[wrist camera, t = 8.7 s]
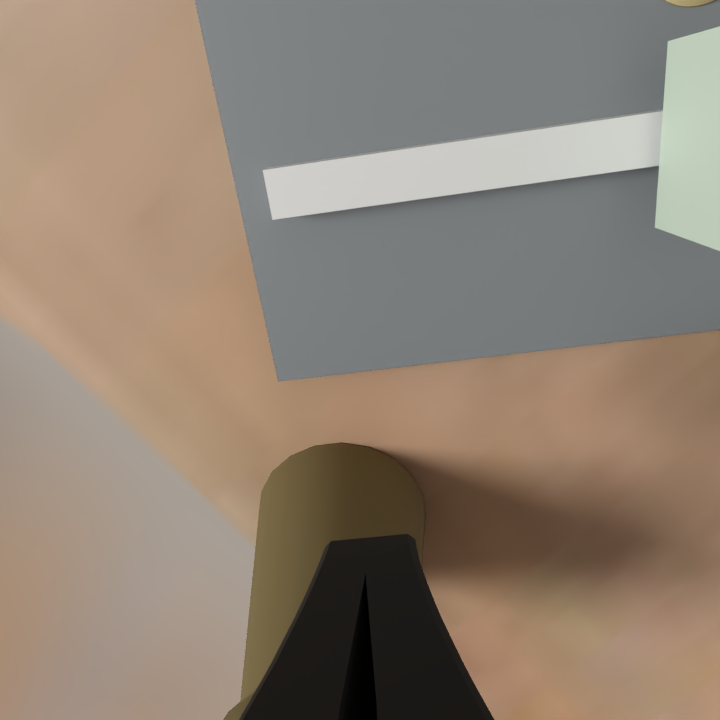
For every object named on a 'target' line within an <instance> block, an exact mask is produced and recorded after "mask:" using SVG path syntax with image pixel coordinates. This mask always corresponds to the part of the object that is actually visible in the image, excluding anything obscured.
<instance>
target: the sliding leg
mask: <svg viewBox="0 0 720 720" xmlns="http://www.w3.org/2000/svg"><path fill="white" fill-rule="evenodd" d="M655 228H658V229H660V230H663V231H666V232H669V233H671V234H674V235H677V236H679V237H682V238H685V239H688V240H690V241H693V242H696V243H699V244H701V245H704V246H707V247H710V248H712V249H715V250H718V251H720V26H719V27H716V28H712V29H709V30H705V31H702V32H698V33H695V34H691V35H688V36H684V37H681V38H677V39H674V40H670V41H668V46H667V60H666V74H665V88H664V103H663V117H662V131H661V146H660V160H659V174H658V188H657V203H656V217H655Z"/></svg>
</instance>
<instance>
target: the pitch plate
mask: <svg viewBox="0 0 720 720" xmlns="http://www.w3.org/2000/svg"><path fill="white" fill-rule="evenodd" d="M195 4H196V8H197V13H198V17H199V22H200V27H201V31H202V36H203V40H204V45H205V49H206V54H207V59H208V63H209V68H210V72H211V77H212V81H213V86H214V91H215V95H216V100H217V104H218V109H219V113H220V118H221V123H222V127H223V132H224V136H225V141H226V145H227V150H228V155H229V159H230V164H231V168H232V173H233V177H234V182H235V187H236V191H237V196H238V200H239V205H240V209H241V214H242V219H243V223H244V228H245V232H246V237H247V241H248V246H249V251H250V255H251V260H252V264H253V269H254V273H255V278H256V283H257V287H258V292H259V296H260V301H261V305H262V310H263V315H264V319H265V324H266V328H267V333H268V337H269V342H270V347H271V351H272V356H273V360H274V365H275V369H276V374H277V379H278V381H287V380H295V379H304V378H312V377H321V376H329V375H338V374H346V373H355V372H364V371H372V370H381V369H389V368H398V367H406V366H415V365H423V364H432V363H440V362H449V361H457V360H466V359H474V358H483V357H491V356H500V355H509V354H517V353H526V352H534V351H543V350H551V349H560V348H568V347H577V346H585V345H594V344H602V343H611V342H619V341H628V340H636V339H645V338H654V337H662V336H671V335H679V334H688V333H696V332H705V331H713V330H720V251H718V250H715V249H712V248H710V247H707V246H704V245H701V244H699V243H696V242H693V241H690V240H688V239H685V238H682V237H679V236H677V235H674V234H671V233H669V232H666V231H663V230H660V229H658V228H655V217H656V203H657V188H658V174H659V160H660V146H661V131H662V117H663V103H664V88H665V74H666V60H667V46H668V41H670V40H674V39H677V38H681V37H684V36H688V35H691V34H695V33H698V32H702V31H705V30H709V29H712V28H716V27H719V26H720V0H195Z"/></svg>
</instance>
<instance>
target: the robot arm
mask: <svg viewBox="0 0 720 720" xmlns="http://www.w3.org/2000/svg"><path fill="white" fill-rule="evenodd" d="M239 720H494V718H493V717H492V715H491V713H490V711H489V710H488V708H487V706H486V704H485V702H484V701H483V699H482V697H481V695H480V693H479V692H478V690H477V688H476V686H475V684H474V683H473V681H472V679H471V677H470V675H469V673H468V671H467V669H466V667H465V665H464V663H463V662H462V660H461V657H460V655H459V653H458V651H457V649H456V647H455V645H454V643H453V641H452V639H451V637H450V635H449V633H448V631H447V628H446V626H445V624H444V622H443V620H442V618H441V616H440V613H439V611H438V609H437V606H436V604H435V602H434V599H433V597H432V594H431V592H430V589H429V586H428V584H427V581H426V578H425V576H424V573H423V570H422V566H421V563H420V560H419V556H418V552H417V547H416V540H415V539H414V538H413V537H412V536H410V535H409V534H400V535H389V536H379V537H368V538H357V539H347V540H336V541H330V542H329V543H328V545H327V546H326V547H325V548H324V551H323V554H322V556H321V559H320V562H319V564H318V567H317V569H316V571H315V574H314V576H313V579H312V581H311V583H310V585H309V588H308V590H307V592H306V594H305V596H304V599H303V601H302V603H301V605H300V607H299V609H298V611H297V613H296V616H295V618H294V620H293V622H292V624H291V625H290V627H289V629H288V631H287V633H286V635H285V637H284V639H283V641H282V643H281V645H280V647H279V649H278V651H277V653H276V655H275V657H274V659H273V661H272V663H271V664H270V666H269V668H268V670H267V672H266V674H265V675H264V677H263V679H262V681H261V682H260V684H259V686H258V687H257V689H256V691H255V693H254V694H253V696H252V698H251V700H250V701H249V703H248V705H247V706H246V708H245V710H244V712H243V713H242V715H241V717H240V719H239Z"/></svg>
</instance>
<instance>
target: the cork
mask: <svg viewBox="0 0 720 720" xmlns="http://www.w3.org/2000/svg"><path fill="white" fill-rule="evenodd" d="M424 529H425V510H424V502H423V495H422V493H421V491H420V489H419V487H418V486H417V484H416V482H415V480H414V478H413V476H412V475H411V474H410V473H409V472H408V471H407V470H406V469H405V468H403V467H402V466H401V465H400V464H399V463H398V462H397V461H396V460H395V459H393V458H392V457H389V456H387V455H385V454H383V453H381V452H379V451H376V450H374V449H372V448H370V447H365V446H359V445H353V444H346V443H336V444H327V445H318V446H313V447H311V448H308V449H306V450H304V451H301V452H299V453H297V454H294V455H292V456H290V457H289V458H288V459H287V460H285V461H284V462H283V463H282V464H281V465H280V466H278V467H277V468H276V469H275V470H274V471H273V472H272V473H271V475H270V477H269V479H268V481H267V482H266V484H265V486H264V488H263V490H262V492H261V501H260V509H259V519H258V529H257V539H256V549H255V560H254V570H253V579H252V589H251V600H250V610H249V620H248V631H247V641H246V651H245V660H244V671H243V681H242V690H241V701H240V702H239V703H238V704H237V705H236V706H235V707H234V708H232V709H231V710H230V711H229V712H228V714H227V715H226V717H225V718H224V720H239V719H240V717H241V715H242V713H243V712H244V710H245V708H246V706H247V705H248V703H249V701H250V700H251V698H252V696H253V694H254V693H255V691H256V689H257V687H258V686H259V684H260V682H261V681H262V679H263V677H264V675H265V674H266V672H267V670H268V668H269V666H270V664H271V663H272V661H273V659H274V657H275V655H276V653H277V651H278V649H279V647H280V645H281V643H282V641H283V639H284V637H285V635H286V633H287V631H288V629H289V627H290V625H291V624H292V622H293V620H294V618H295V616H296V613H297V611H298V609H299V607H300V605H301V603H302V601H303V599H304V596H305V594H306V592H307V590H308V588H309V585H310V583H311V581H312V579H313V576H314V574H315V571H316V569H317V567H318V564H319V562H320V559H321V556H322V554H323V551H324V548H325V547H326V546H327V545H328V543H329V542H330V541H336V540H347V539H357V538H368V537H379V536H389V535H400V534H409V535H410V536H412V537H413V538H414V539H415V540H416V547H417V552H418V556H419V560H420V563H421V566H422V559H423V544H424Z"/></svg>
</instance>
